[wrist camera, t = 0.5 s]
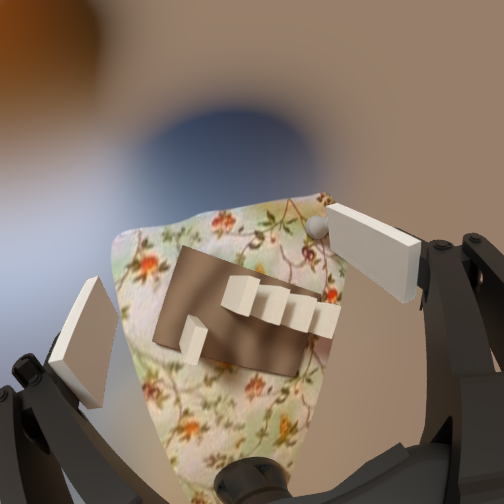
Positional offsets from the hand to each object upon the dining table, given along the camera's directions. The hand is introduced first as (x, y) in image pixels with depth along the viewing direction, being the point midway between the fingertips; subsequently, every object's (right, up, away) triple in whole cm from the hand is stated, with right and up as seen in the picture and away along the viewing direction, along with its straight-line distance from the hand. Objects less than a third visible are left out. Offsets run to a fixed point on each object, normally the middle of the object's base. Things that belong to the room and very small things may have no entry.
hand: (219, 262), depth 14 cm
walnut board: (0, -10, +32) cm, 33 cm away
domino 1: (-8, -12, +27) cm, 31 cm away
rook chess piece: (+14, +5, +38) cm, 40 cm away
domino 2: (-2, -6, +30) cm, 30 cm away
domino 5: (+10, -10, +33) cm, 37 cm away
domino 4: (+6, -9, +32) cm, 34 cm away
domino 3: (+2, -7, +31) cm, 32 cm away
